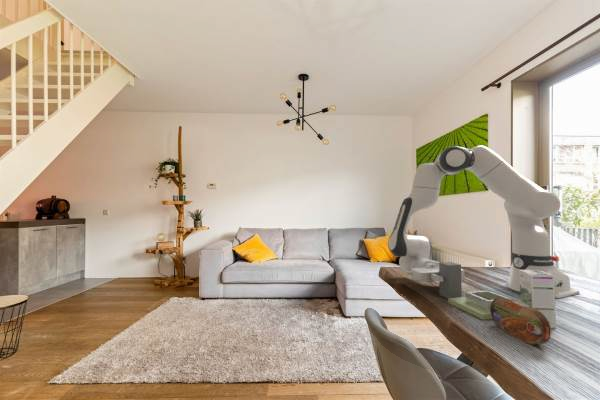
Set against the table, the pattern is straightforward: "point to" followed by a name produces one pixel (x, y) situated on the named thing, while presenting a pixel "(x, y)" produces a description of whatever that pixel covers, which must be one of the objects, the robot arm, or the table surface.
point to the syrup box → (538, 293)
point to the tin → (520, 321)
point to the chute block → (450, 280)
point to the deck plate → (476, 303)
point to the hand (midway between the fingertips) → (451, 279)
